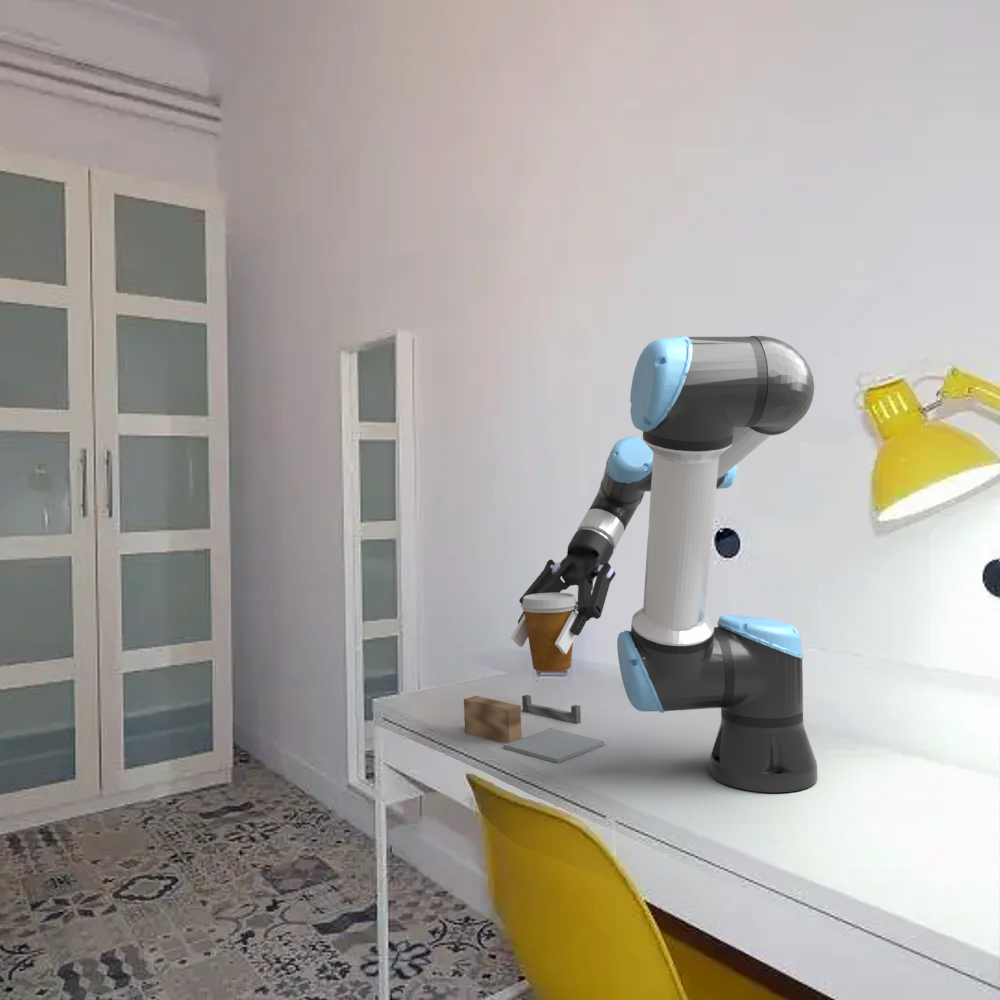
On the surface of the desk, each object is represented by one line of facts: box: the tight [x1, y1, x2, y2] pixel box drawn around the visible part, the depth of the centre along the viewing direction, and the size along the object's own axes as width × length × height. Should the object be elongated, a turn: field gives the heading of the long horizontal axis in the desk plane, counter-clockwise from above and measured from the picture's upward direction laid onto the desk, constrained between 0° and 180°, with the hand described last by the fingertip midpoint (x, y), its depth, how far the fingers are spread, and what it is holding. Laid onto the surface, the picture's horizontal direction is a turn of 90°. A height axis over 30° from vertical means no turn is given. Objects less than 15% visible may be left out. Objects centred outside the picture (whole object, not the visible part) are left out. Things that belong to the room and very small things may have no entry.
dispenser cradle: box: [463, 694, 582, 744], centre depth 156 cm, size 13×18×6 cm
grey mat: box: [502, 727, 606, 764], centre depth 144 cm, size 12×12×1 cm
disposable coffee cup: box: [520, 592, 578, 673], centre depth 144 cm, size 10×10×12 cm
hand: (538, 645), depth 142 cm, fingers closed on disposable coffee cup, 9 cm apart
